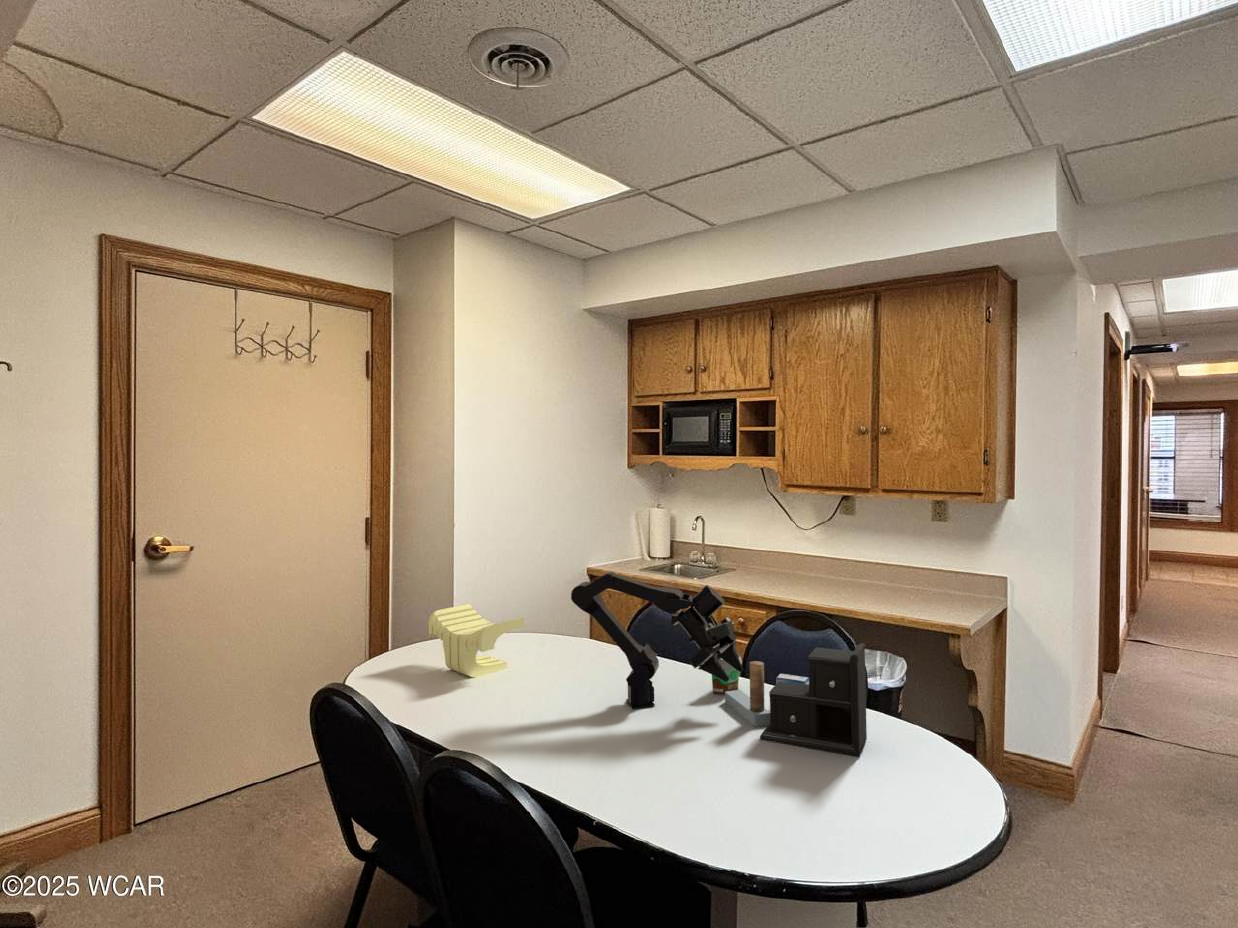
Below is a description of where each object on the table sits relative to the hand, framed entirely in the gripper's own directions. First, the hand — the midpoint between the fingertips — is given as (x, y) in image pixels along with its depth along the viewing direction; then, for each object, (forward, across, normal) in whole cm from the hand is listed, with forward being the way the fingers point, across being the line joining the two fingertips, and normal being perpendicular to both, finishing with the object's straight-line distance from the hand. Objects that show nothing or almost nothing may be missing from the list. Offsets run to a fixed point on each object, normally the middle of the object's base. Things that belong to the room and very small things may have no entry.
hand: (735, 675), depth 185 cm
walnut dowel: (+10, 0, +1) cm, 10 cm away
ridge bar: (+9, +4, +6) cm, 12 cm away
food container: (+2, +18, +14) cm, 23 cm away
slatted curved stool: (-54, -4, +70) cm, 89 cm away
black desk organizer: (+23, -4, -8) cm, 25 cm away
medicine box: (+16, +13, 0) cm, 20 cm away
